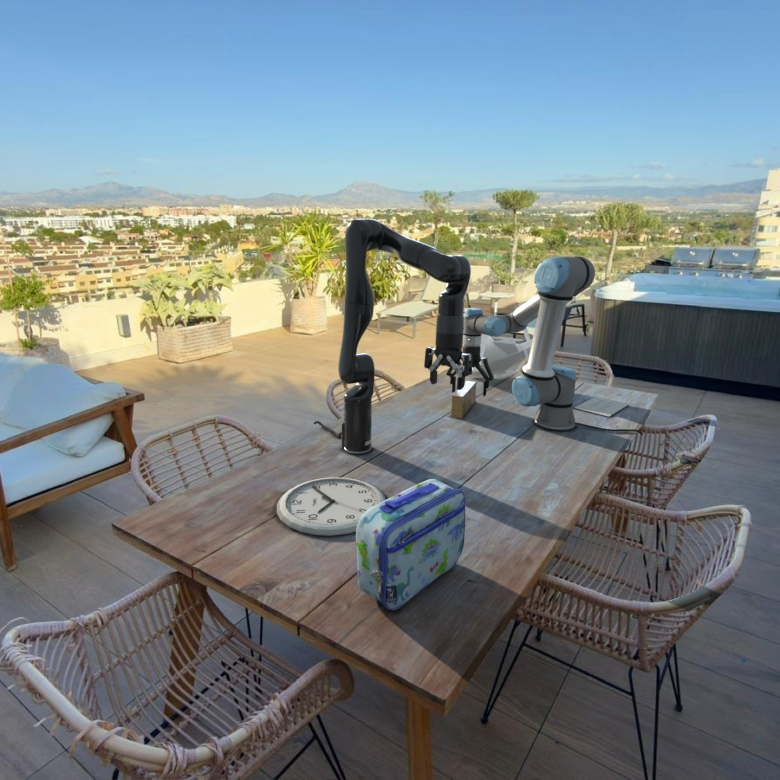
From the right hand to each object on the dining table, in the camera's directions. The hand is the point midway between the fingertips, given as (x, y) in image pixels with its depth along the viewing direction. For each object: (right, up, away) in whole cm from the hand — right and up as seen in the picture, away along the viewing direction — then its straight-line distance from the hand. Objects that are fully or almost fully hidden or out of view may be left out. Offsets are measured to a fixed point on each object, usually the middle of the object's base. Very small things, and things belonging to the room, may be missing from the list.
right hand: (468, 393), depth 225 cm
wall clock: (-50, -30, -83) cm, 101 cm away
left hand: (-18, +3, -77) cm, 79 cm away
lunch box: (-29, -40, -113) cm, 123 cm away
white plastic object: (+22, +4, +32) cm, 39 cm away
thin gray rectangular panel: (+57, -6, +1) cm, 58 cm away
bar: (-3, -6, -5) cm, 9 cm away
